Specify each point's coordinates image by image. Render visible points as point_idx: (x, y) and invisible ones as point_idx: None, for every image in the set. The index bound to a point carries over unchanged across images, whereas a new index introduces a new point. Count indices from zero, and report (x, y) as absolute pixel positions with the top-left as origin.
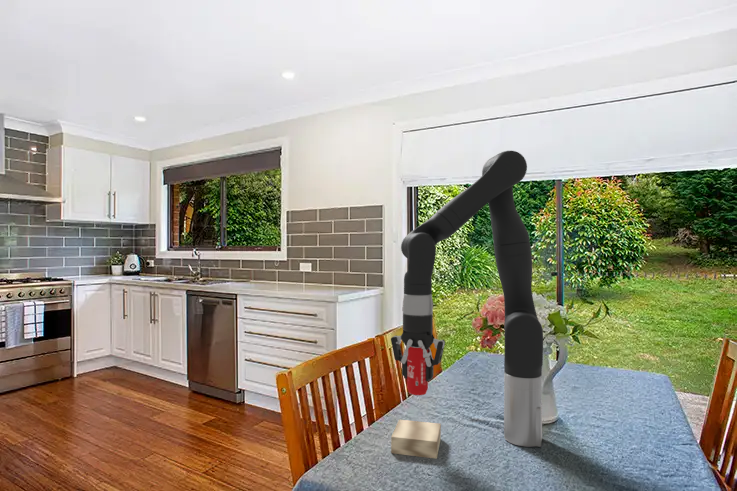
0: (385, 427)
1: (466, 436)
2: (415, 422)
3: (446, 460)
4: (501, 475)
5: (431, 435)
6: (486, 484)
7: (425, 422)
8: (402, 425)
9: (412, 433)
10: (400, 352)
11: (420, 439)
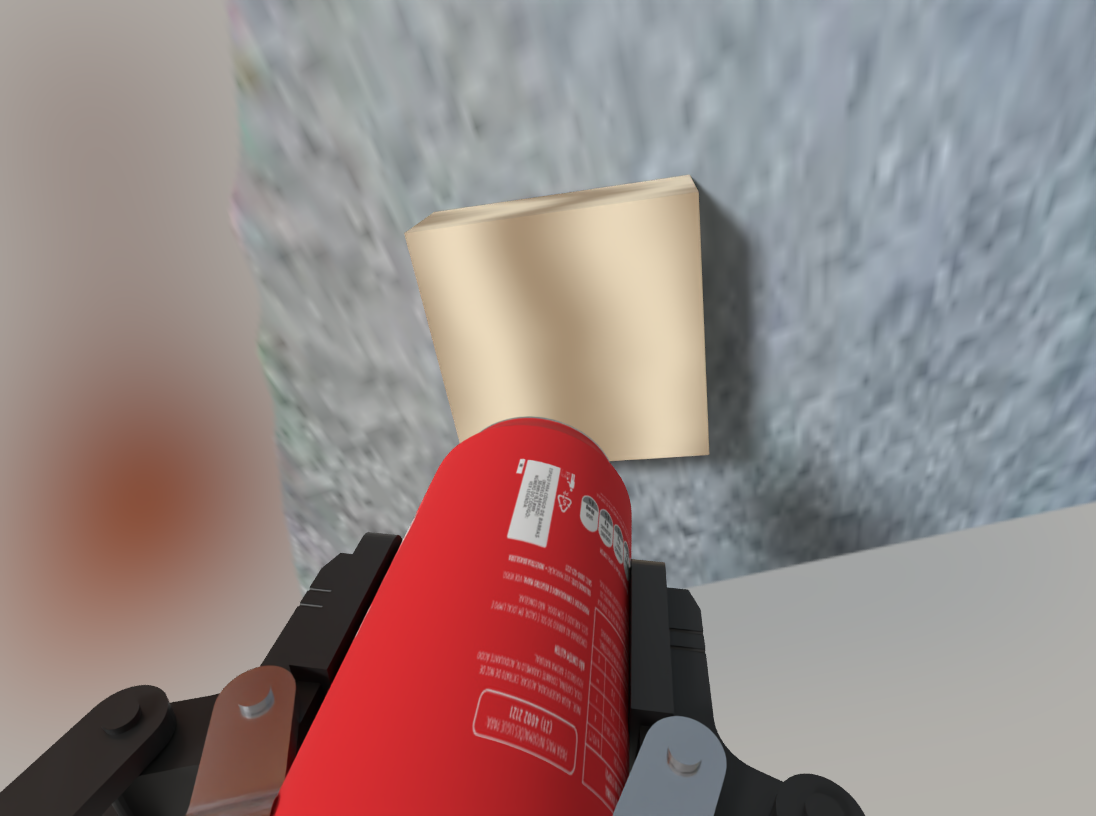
0: (314, 138)
1: (868, 49)
2: (522, 241)
3: (748, 409)
4: (1014, 460)
5: (666, 393)
6: (926, 537)
7: (587, 215)
8: (463, 319)
9: (556, 402)
10: (97, 809)
11: (618, 456)
